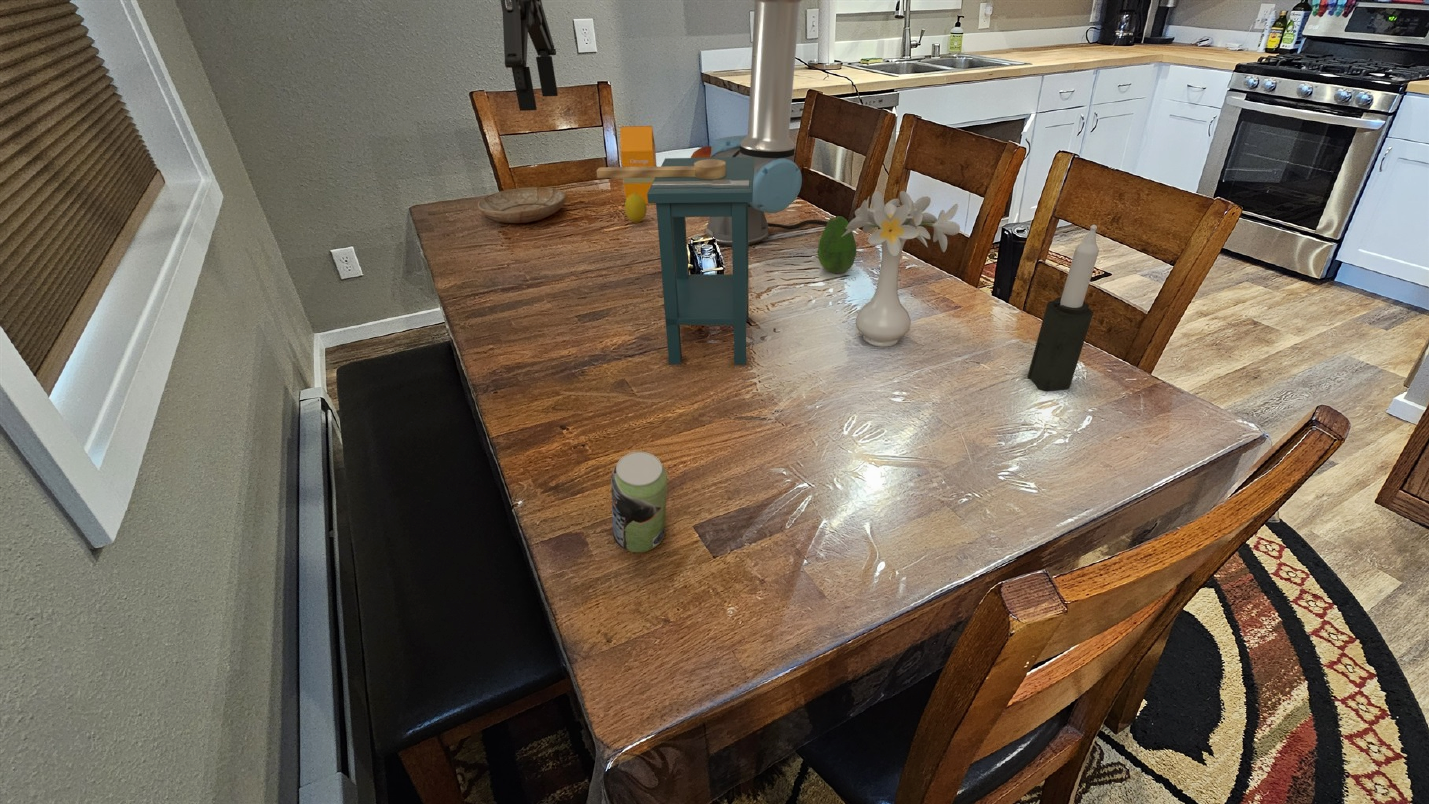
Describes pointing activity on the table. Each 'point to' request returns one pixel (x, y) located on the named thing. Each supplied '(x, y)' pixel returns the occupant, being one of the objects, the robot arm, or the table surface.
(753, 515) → the table surface
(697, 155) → the burger
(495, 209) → the ceramic bowl
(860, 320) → the flower vase
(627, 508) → the beverage can
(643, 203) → the lemon
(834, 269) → the avocado
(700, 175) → the wooden spoon
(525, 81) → the robot arm
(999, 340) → the table surface
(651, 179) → the orange juice
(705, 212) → the stand
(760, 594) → the table surface
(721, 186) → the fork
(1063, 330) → the candle
